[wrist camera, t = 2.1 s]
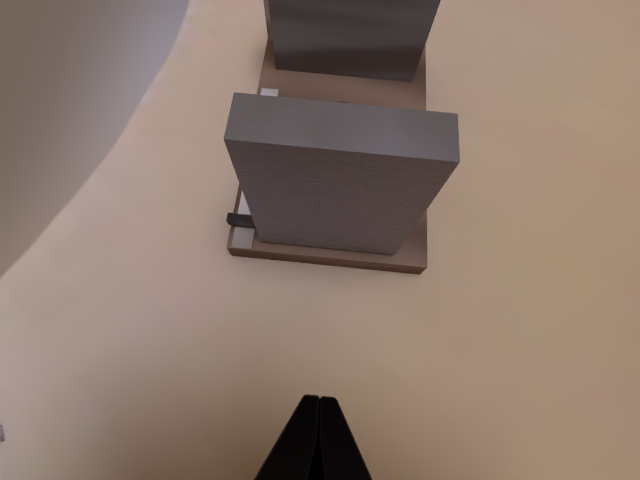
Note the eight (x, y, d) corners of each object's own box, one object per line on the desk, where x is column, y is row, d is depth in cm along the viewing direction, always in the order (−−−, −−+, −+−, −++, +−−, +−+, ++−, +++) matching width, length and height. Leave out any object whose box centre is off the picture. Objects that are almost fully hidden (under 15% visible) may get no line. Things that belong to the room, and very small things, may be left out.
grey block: (394, 254, 22) (459, 161, 12) (227, 238, 22) (164, 133, 12) (397, 160, 24) (453, 22, 15) (245, 146, 24) (204, -1, 15)
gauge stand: (419, 274, 23) (472, 225, 16) (231, 255, 23) (194, 197, 16) (419, 58, 29) (457, -50, 22) (271, 44, 30) (259, -68, 22)
